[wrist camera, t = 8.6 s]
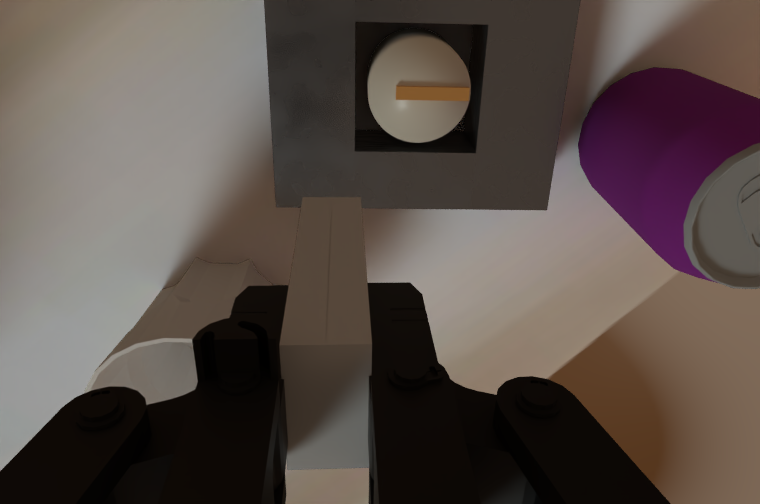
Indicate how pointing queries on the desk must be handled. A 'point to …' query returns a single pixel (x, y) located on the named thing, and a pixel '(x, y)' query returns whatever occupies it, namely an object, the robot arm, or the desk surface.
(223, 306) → the cup
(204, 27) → the desk surface
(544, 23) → the mount plate
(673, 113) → the beverage can
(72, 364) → the desk surface
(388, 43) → the knob
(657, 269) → the desk surface
